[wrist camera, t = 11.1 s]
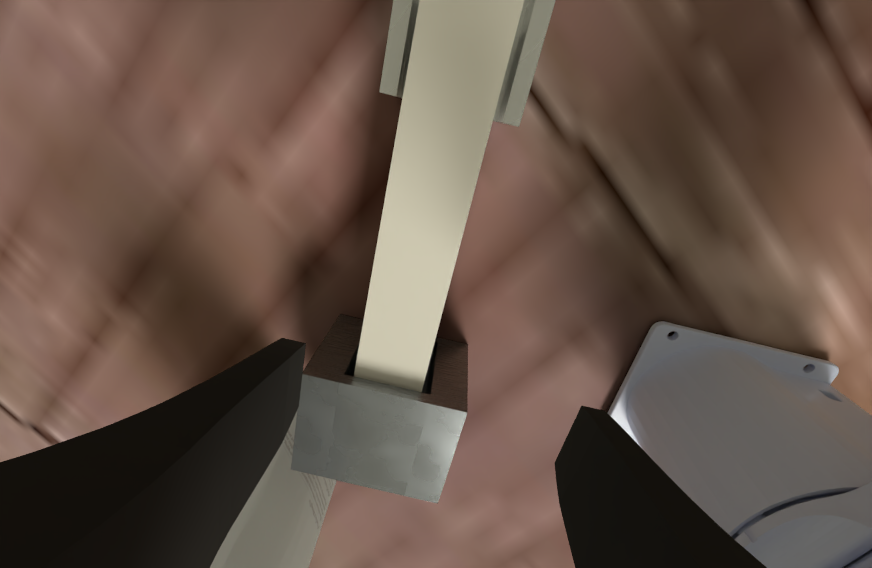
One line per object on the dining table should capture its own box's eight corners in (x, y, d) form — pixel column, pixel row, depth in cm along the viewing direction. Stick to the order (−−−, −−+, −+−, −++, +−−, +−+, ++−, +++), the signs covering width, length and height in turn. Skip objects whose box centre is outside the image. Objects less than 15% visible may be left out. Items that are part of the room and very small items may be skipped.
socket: (467, 344, 22) (467, 412, 17) (444, 422, 24) (437, 503, 19) (340, 314, 21) (301, 373, 16) (328, 395, 24) (290, 469, 19)
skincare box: (212, 392, 24) (-122, 752, 11) (305, 381, 23) (74, 756, 10) (261, 493, 27) (51, 872, 14) (345, 486, 26) (211, 884, 13)
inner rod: (511, 27, 15) (524, -1, 12) (423, 367, 22) (414, 419, 18) (434, 8, 15) (423, -26, 12) (369, 354, 22) (348, 403, 18)
